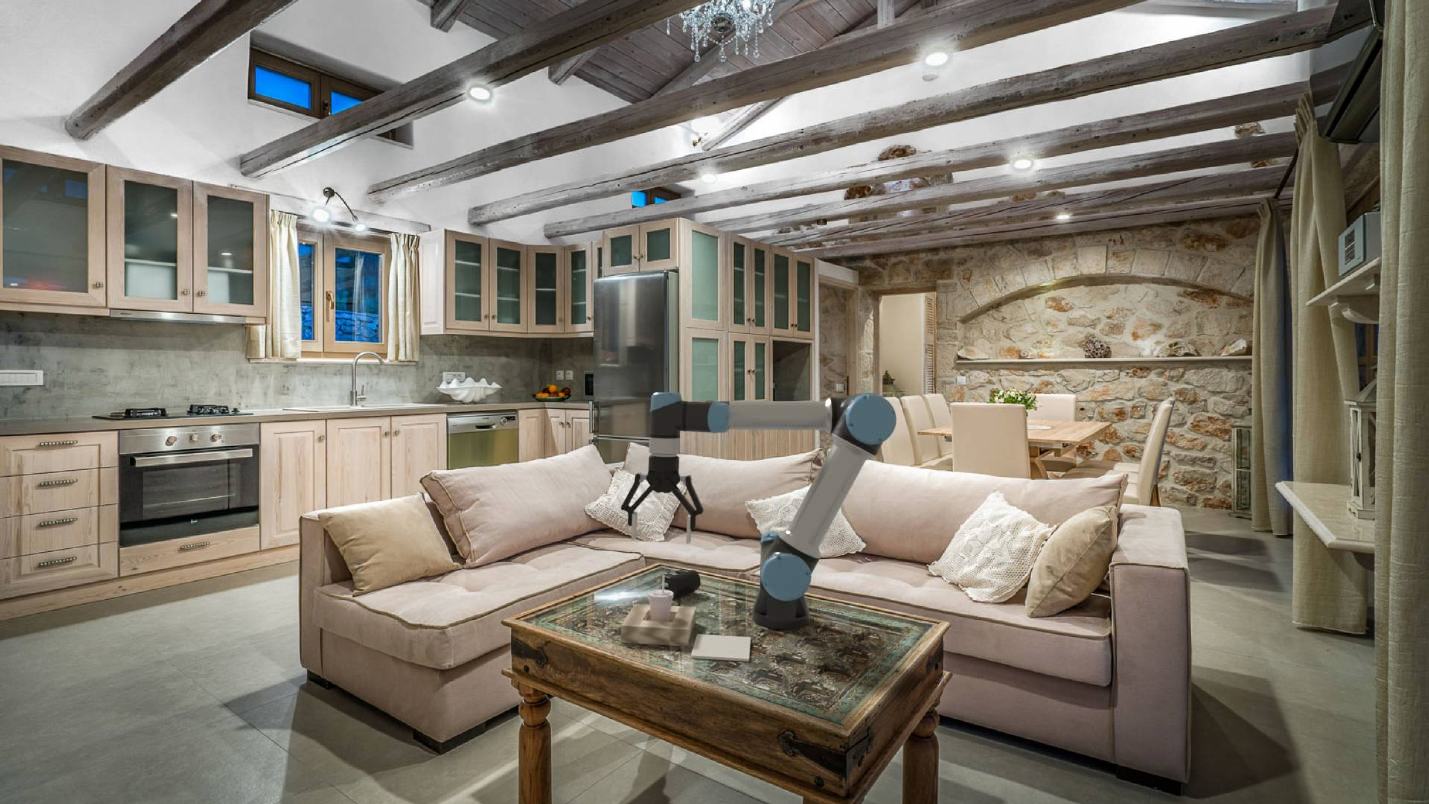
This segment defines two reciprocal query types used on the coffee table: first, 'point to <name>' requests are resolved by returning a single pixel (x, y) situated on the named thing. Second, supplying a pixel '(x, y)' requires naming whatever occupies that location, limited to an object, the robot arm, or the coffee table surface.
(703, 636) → the tile
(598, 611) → the coffee table surface
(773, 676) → the coffee table surface
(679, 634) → the frame
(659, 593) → the smoothie
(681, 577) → the end cap
